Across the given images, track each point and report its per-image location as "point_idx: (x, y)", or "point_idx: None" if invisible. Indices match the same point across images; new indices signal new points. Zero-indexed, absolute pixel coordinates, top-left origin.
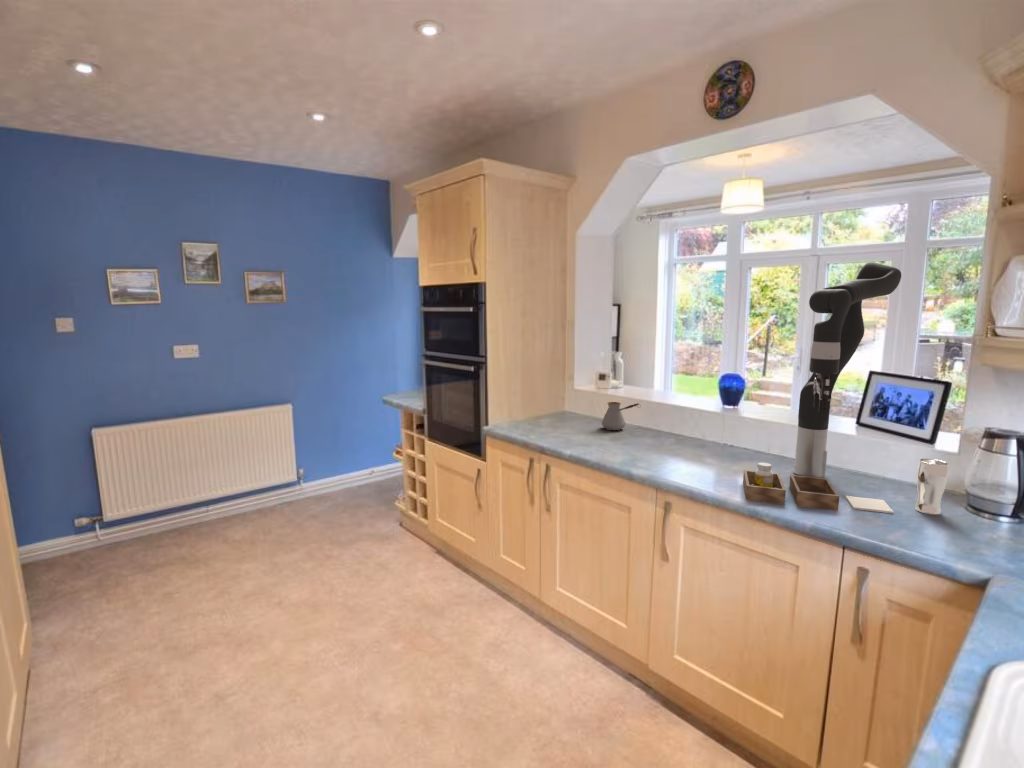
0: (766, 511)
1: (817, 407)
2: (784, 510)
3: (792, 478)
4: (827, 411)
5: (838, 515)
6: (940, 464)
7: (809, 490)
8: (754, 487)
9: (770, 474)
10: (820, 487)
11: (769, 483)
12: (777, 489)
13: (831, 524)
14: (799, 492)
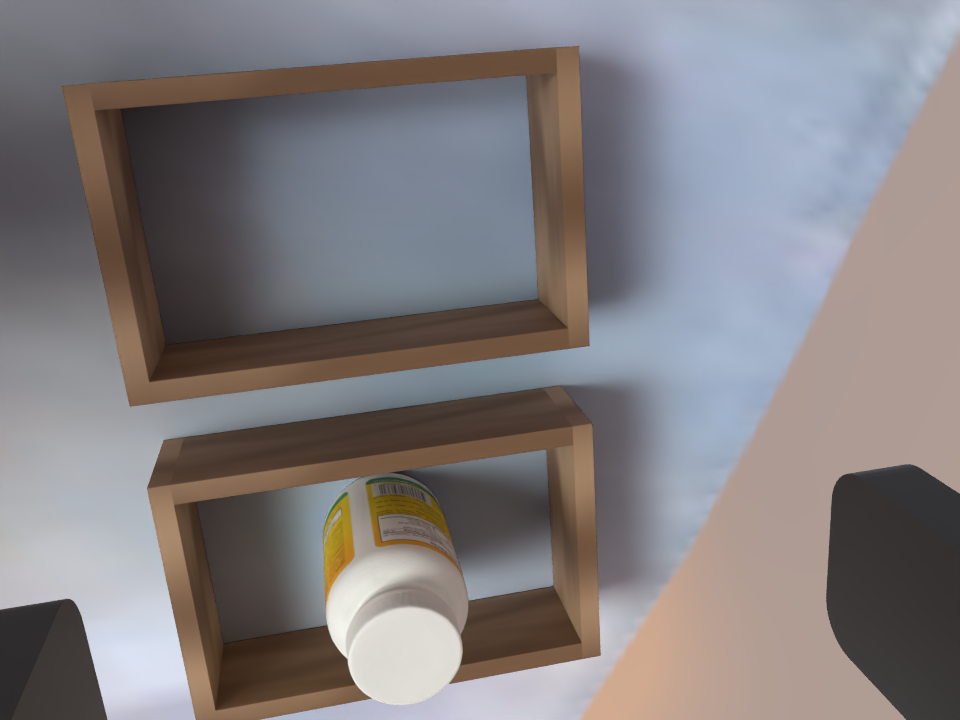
0: (728, 474)
1: (94, 693)
2: (672, 382)
3: (240, 386)
4: (925, 472)
5: (636, 55)
6: None
7: (140, 220)
8: (598, 608)
9: (448, 567)
10: (119, 141)
11: (444, 531)
12: (593, 474)
13: (817, 120)
14: (588, 332)
